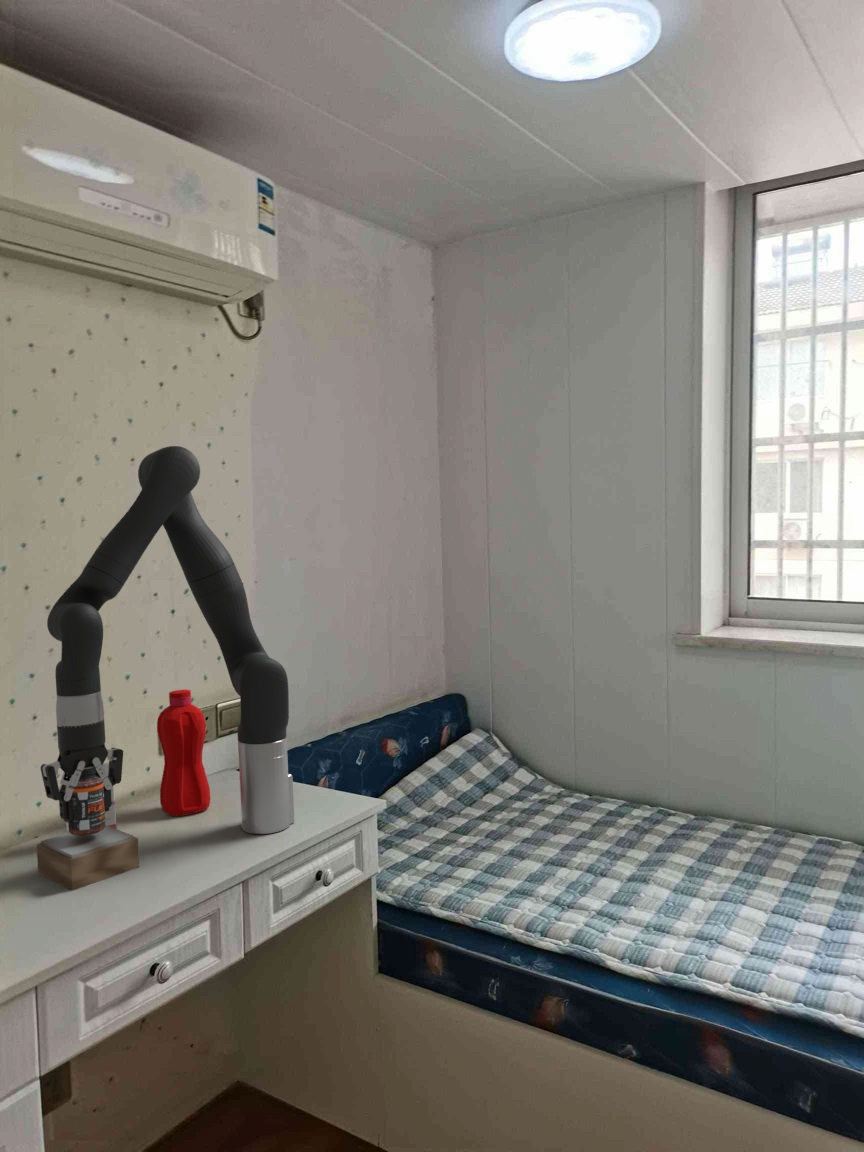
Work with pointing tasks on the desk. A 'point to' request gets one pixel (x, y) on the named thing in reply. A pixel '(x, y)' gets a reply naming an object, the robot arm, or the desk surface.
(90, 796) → the supplement bottle
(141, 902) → the desk surface
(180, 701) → the water bottle
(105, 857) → the wooden rimmed tray
